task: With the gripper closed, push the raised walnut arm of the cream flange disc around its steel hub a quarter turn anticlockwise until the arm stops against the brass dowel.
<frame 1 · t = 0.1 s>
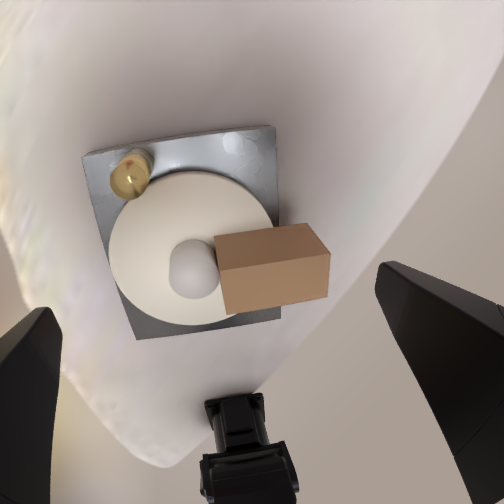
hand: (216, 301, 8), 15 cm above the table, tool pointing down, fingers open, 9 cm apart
dowel: (141, 159, 20), resting on base plate
flange: (210, 269, 20), point 4 cm above the table, hinge at 0.0°
base plate: (191, 239, 23), on the table
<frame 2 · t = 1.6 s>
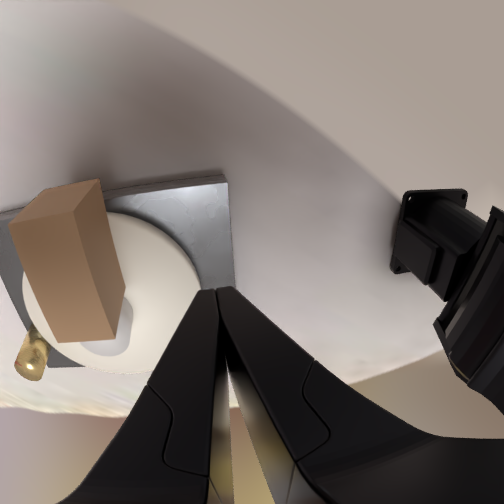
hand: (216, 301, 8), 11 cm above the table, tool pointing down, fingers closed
dowel: (47, 319, 20), resting on base plate
flange: (98, 313, 15), point 4 cm above the table, hinge at 0.0°
base plate: (115, 282, 19), on the table
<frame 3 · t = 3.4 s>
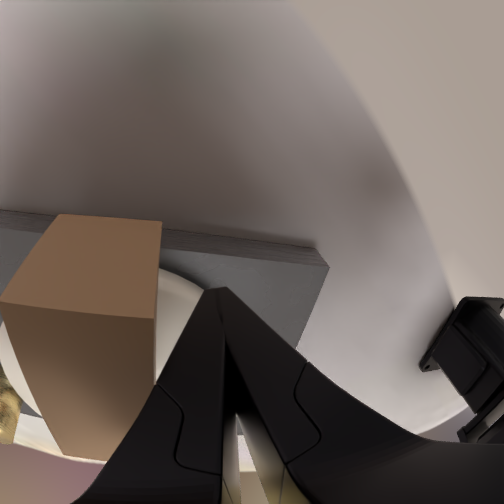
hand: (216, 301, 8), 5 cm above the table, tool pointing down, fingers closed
dowel: (18, 357, 13), resting on base plate
flange: (115, 404, 10), point 4 cm above the table, hinge at 2.5°, touching gripper
base plate: (125, 342, 14), on the table
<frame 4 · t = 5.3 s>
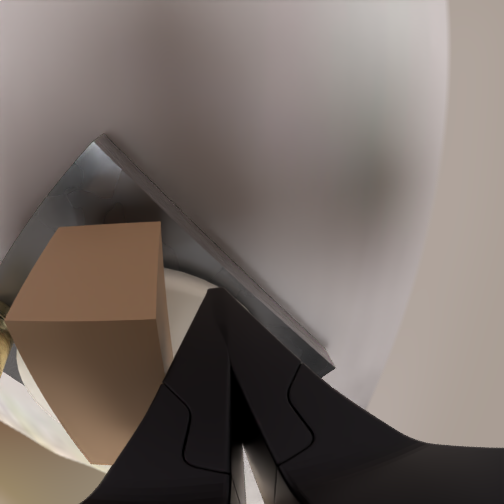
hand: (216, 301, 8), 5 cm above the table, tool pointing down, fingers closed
dowel: (11, 297, 11), resting on base plate
flange: (138, 408, 10), point 4 cm above the table, hinge at 48.0°, touching gripper
base plate: (143, 345, 14), on the table
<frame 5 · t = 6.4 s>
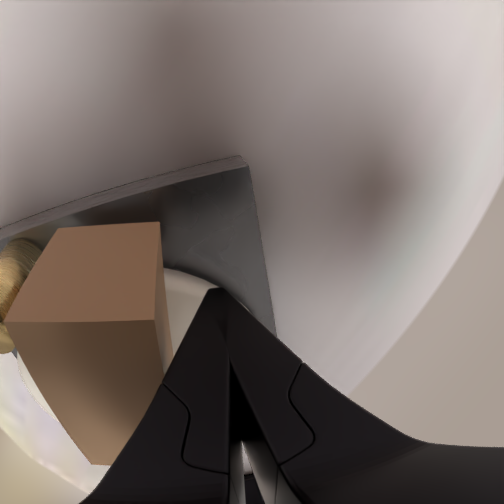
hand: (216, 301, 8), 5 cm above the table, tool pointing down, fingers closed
dowel: (37, 244, 11), resting on base plate
flange: (138, 408, 10), point 4 cm above the table, hinge at 77.2°, touching gripper
base plate: (144, 345, 14), on the table
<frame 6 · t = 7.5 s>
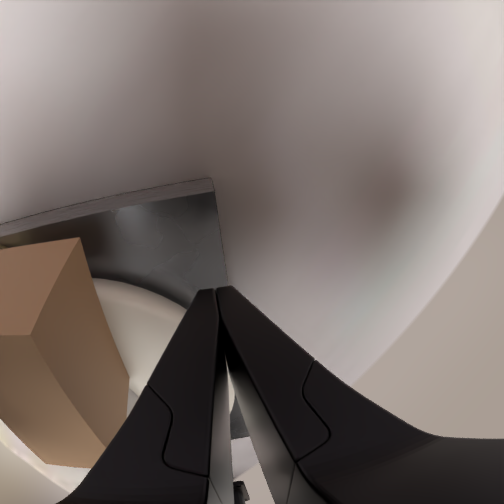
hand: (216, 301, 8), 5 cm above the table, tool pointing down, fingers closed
flange: (94, 414, 10), point 4 cm above the table, hinge at 86.4°
base plate: (113, 352, 14), on the table
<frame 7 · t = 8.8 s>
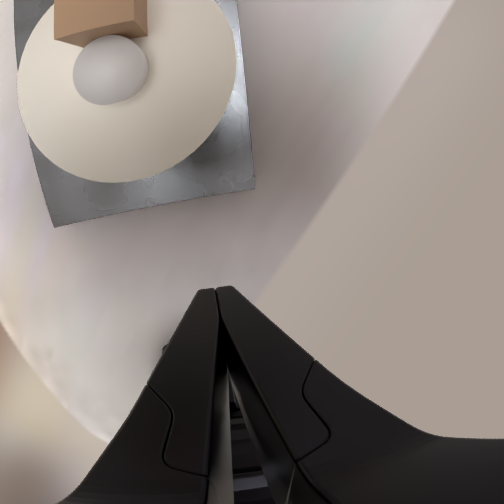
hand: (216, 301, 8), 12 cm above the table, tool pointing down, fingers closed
flange: (109, 48, 10), point 4 cm above the table, hinge at 86.4°
base plate: (128, 73, 15), on the table
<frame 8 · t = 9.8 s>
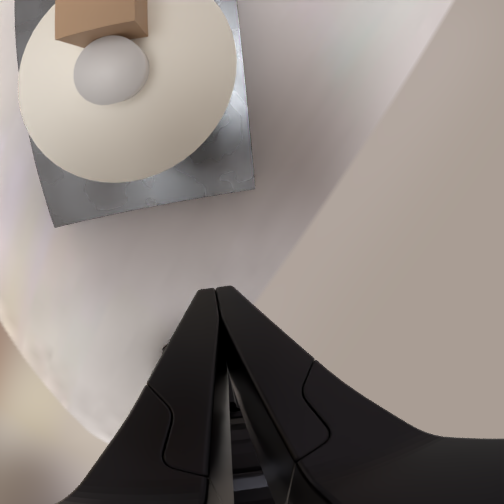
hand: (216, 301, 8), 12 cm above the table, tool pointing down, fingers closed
flange: (110, 48, 11), point 4 cm above the table, hinge at 86.4°
base plate: (128, 73, 15), on the table
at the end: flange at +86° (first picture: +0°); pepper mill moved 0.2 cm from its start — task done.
